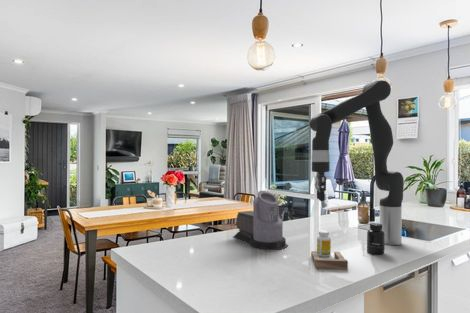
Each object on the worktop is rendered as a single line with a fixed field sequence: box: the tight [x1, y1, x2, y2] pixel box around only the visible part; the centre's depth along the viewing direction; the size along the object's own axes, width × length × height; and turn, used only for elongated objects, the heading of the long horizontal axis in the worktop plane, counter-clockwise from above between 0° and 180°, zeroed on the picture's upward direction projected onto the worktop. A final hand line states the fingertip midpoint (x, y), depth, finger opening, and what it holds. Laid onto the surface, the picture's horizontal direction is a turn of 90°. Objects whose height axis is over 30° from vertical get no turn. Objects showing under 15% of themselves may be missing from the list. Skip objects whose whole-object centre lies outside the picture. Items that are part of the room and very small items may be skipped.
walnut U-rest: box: [310, 250, 349, 271], centre depth 121 cm, size 13×11×3 cm
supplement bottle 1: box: [316, 229, 332, 258], centre depth 132 cm, size 5×5×10 cm
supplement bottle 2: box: [366, 222, 386, 256], centre depth 134 cm, size 7×7×12 cm
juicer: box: [232, 190, 289, 251], centre depth 152 cm, size 30×16×24 cm, turn 33°
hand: (320, 199), depth 140 cm, fingers open, 5 cm apart
